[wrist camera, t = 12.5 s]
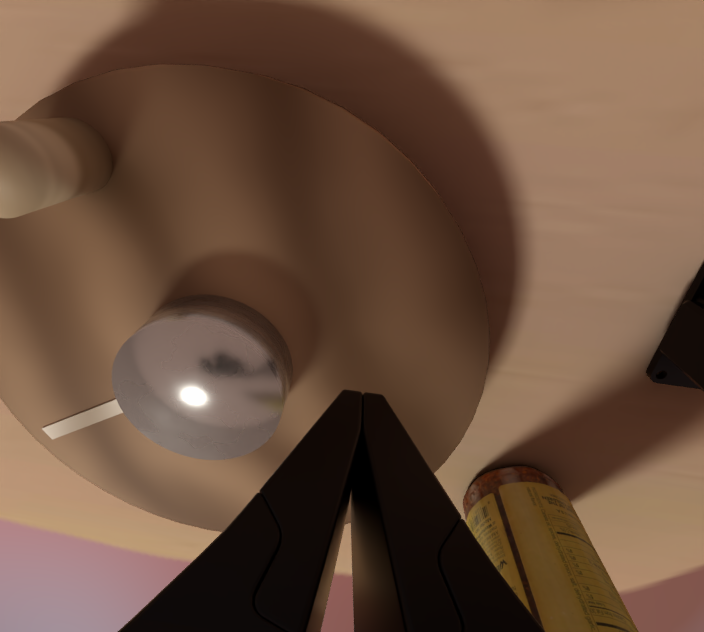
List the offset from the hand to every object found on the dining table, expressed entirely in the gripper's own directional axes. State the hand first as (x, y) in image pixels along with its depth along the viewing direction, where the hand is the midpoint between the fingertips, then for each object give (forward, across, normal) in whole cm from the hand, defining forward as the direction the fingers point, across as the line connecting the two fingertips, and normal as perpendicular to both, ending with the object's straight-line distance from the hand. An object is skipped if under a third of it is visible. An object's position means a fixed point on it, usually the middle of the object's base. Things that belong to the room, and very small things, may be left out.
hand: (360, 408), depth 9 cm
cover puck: (+9, +6, +6) cm, 13 cm away
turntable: (+11, +6, +6) cm, 14 cm away
